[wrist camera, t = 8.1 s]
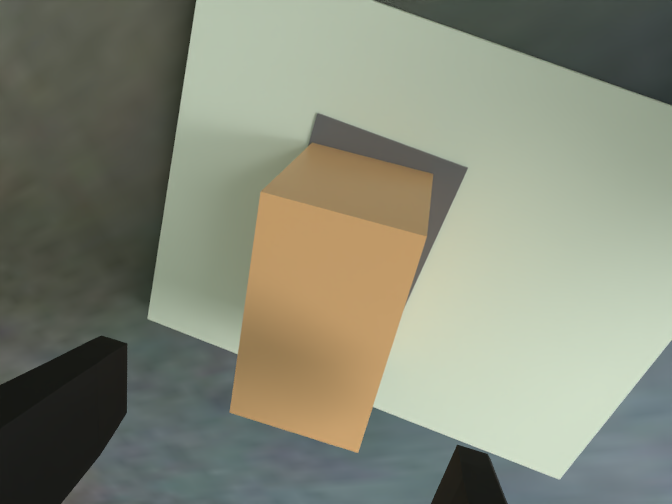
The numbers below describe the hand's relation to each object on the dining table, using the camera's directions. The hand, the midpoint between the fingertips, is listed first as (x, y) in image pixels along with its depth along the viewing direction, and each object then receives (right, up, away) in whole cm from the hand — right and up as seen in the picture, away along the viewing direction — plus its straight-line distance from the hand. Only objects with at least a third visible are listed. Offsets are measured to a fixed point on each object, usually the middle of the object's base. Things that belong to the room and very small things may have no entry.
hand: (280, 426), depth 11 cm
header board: (+4, +4, +8) cm, 10 cm away
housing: (+2, +4, +7) cm, 8 cm away
